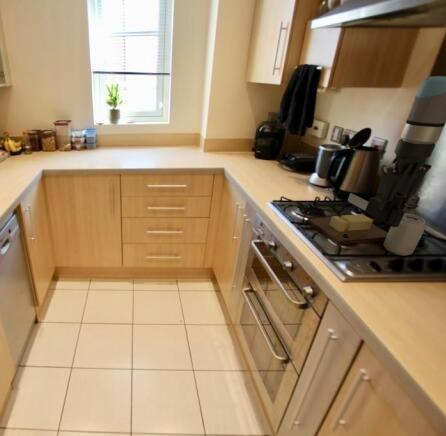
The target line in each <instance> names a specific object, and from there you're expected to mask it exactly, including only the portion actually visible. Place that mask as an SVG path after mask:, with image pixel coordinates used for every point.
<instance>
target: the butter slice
mask: <svg viewBox="0 0 446 436" xmlns="http://www.w3.org/2000/svg"><path fill="white" fill-rule="evenodd" d="M338 216H339V215H332V216H331V217H332V218H331V221H330V224H329V225H330V226H332V227H333V228H335V229H336V230H337V231H339V232H341V231H345V228H346V226H347V223H348V222H346V221H344V220H343V219H341V218H340V217H338Z"/></svg>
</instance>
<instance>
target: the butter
mask: <svg viewBox="0 0 446 436" xmlns="http://www.w3.org/2000/svg"><path fill="white" fill-rule="evenodd" d="M340 216H341V219H343V220H344V221H346V222H348V223H347V226H346V228H345V229H347V230H348V231H354V230H366V229H370V228H371V225H372V224H374V219H372V218H370V217H368V216H366V215H365V214H363V213H358V214H357V213H356V214H344V215H340Z"/></svg>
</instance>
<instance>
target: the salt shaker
mask: <svg viewBox="0 0 446 436" xmlns="http://www.w3.org/2000/svg"><path fill="white" fill-rule="evenodd" d="M420 200H421V197H420V196H419V195H418V193H414V194H413V196H412V197H411V198H408V201H406V202H405V203H404V205H405V206H404V208H403V209H402V210H403V211H405V213H406V214H413V215H416V216H418V215H417V214H416V213H415V211H416V210H417V208H419V205H418V204H419V203H420Z"/></svg>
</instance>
